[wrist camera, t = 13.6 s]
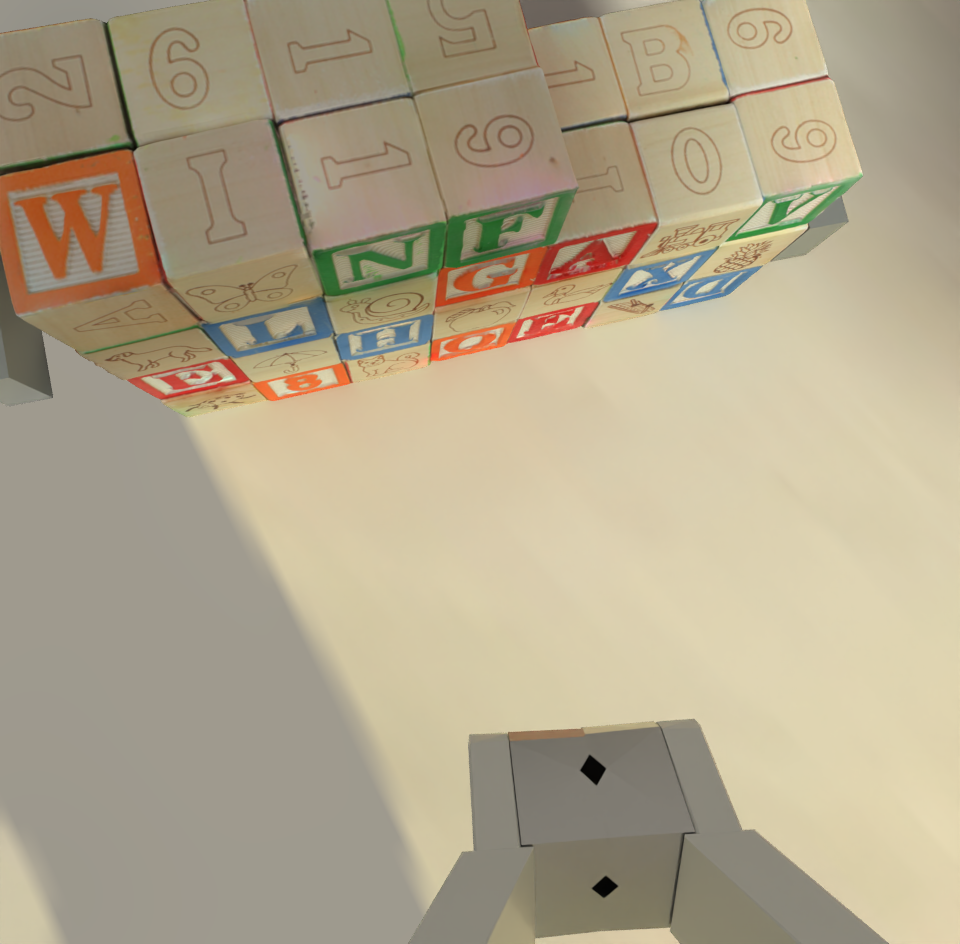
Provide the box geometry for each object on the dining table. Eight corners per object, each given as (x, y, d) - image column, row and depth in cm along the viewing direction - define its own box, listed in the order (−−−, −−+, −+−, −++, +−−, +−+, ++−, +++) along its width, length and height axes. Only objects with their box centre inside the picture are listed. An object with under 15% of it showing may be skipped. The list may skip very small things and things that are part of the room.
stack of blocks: (686, 152, 30) (870, -120, 18) (729, 298, 30) (949, 118, 18) (146, 261, 28) (-57, 29, 16) (182, 423, 27) (2, 314, 15)
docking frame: (761, 92, 31) (812, 23, 27) (805, 254, 30) (865, 208, 26) (-22, 219, 27) (-95, 162, 23) (9, 406, 27) (-61, 379, 23)
